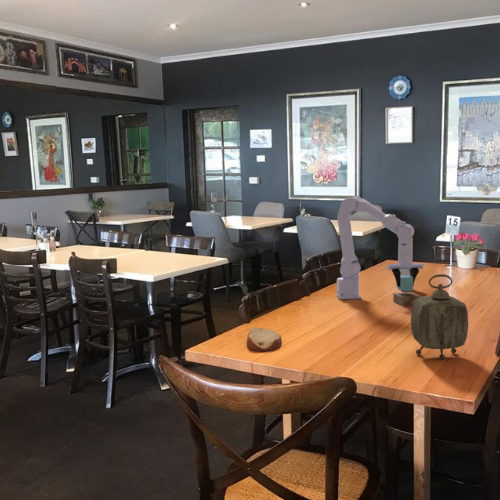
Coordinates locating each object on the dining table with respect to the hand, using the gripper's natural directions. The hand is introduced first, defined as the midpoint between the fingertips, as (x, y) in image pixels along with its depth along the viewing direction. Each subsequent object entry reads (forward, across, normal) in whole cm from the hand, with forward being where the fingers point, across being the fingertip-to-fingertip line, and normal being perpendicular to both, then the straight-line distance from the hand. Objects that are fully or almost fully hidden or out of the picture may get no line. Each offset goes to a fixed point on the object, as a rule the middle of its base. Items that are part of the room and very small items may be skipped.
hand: (405, 286), depth 230 cm
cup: (+7, +8, +23) cm, 25 cm away
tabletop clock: (+7, -11, -67) cm, 68 cm away
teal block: (+1, 0, 0) cm, 1 cm away
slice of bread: (+8, -63, -45) cm, 78 cm away
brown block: (+7, 0, -1) cm, 7 cm away
